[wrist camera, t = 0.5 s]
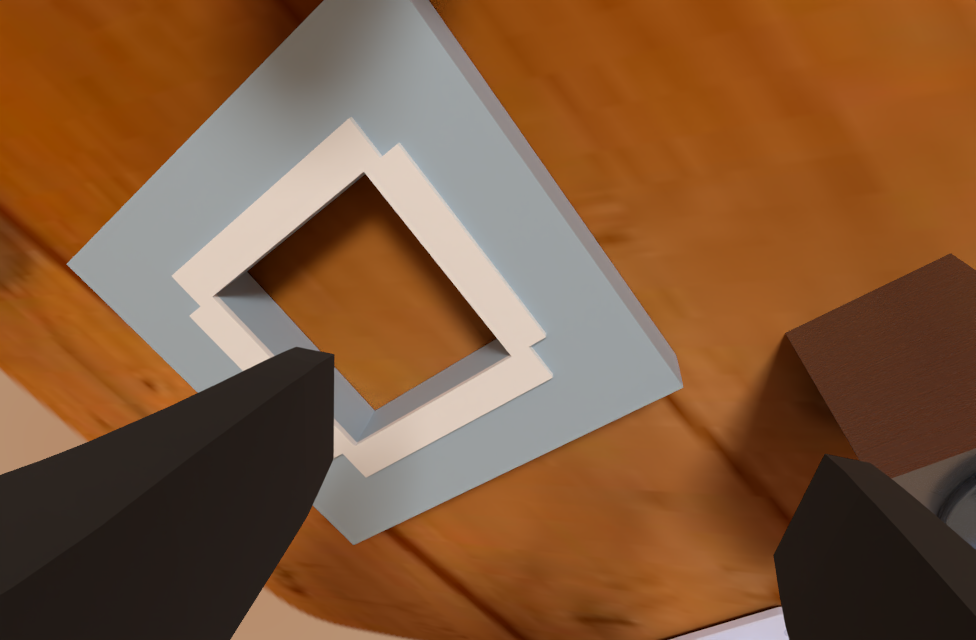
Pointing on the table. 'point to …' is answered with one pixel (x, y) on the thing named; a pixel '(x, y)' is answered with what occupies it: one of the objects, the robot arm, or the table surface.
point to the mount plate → (436, 224)
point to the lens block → (907, 383)
